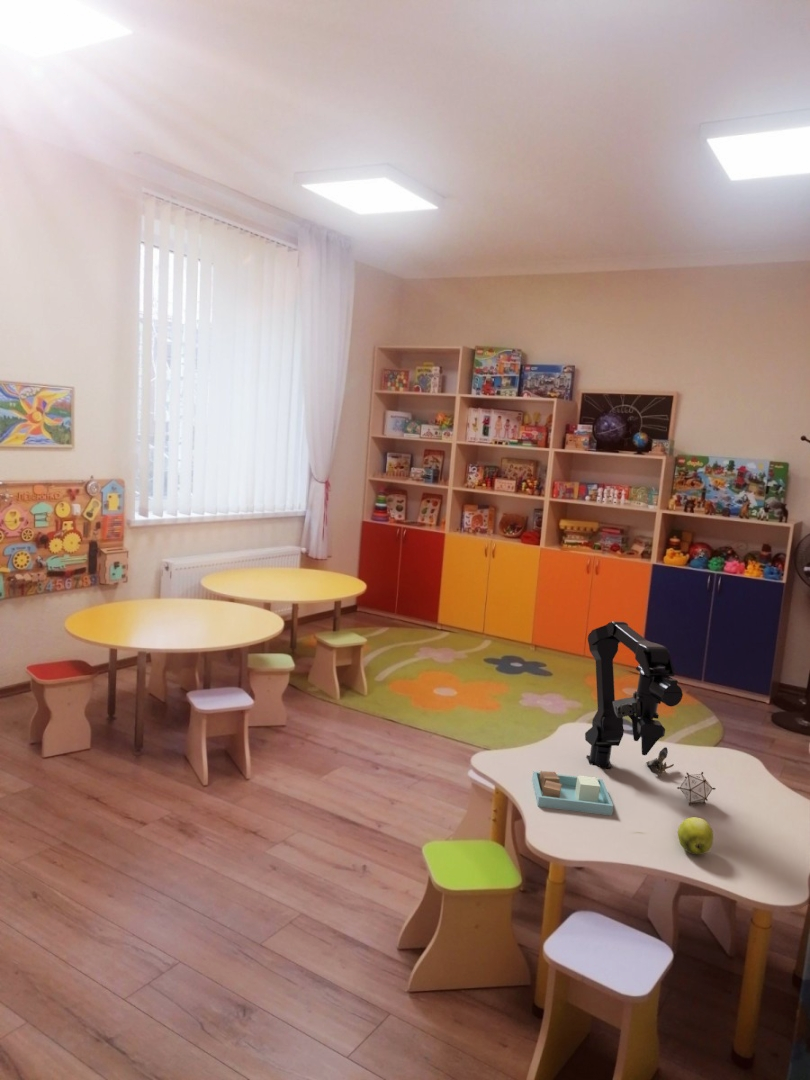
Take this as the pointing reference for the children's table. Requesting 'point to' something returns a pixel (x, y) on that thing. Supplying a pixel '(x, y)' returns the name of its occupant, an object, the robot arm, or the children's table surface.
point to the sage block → (587, 789)
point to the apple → (695, 835)
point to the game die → (696, 788)
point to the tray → (572, 797)
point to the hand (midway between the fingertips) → (639, 747)
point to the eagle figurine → (660, 761)
